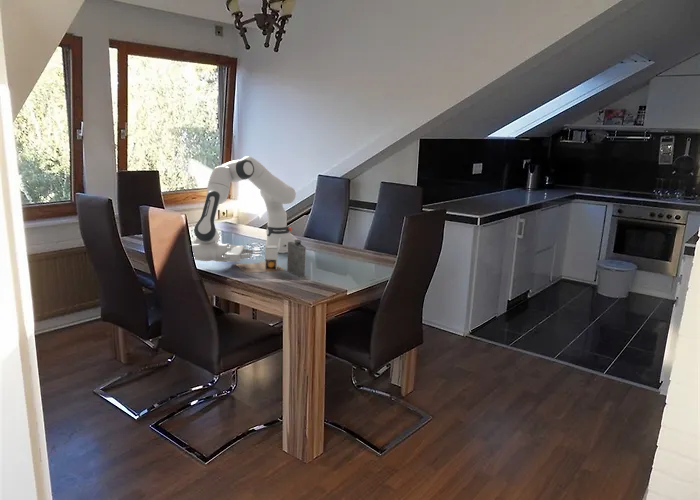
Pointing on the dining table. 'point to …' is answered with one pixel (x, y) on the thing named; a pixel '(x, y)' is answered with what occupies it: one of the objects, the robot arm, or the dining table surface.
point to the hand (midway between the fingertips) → (251, 253)
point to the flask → (296, 258)
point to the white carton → (271, 254)
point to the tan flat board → (257, 267)
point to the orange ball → (271, 264)
